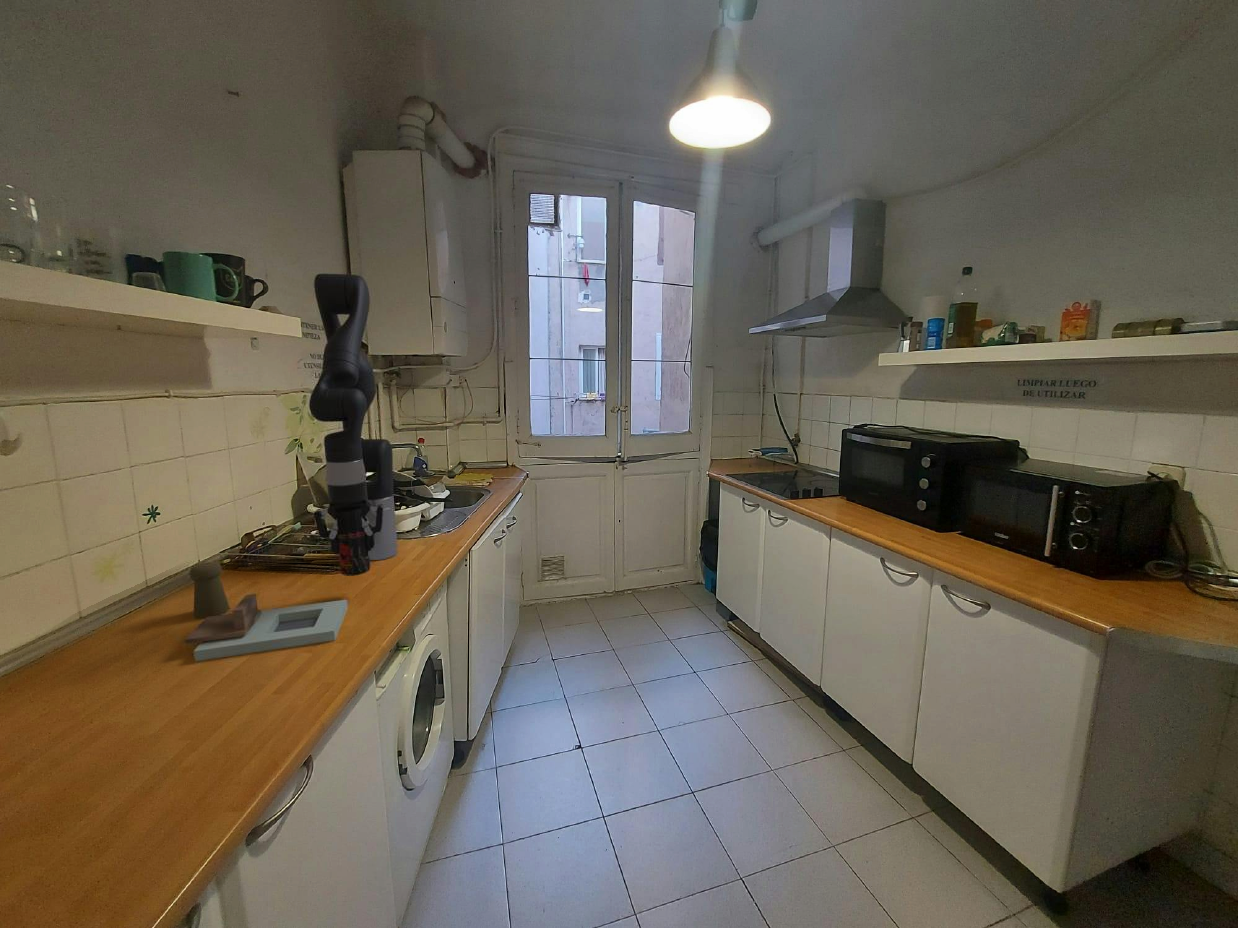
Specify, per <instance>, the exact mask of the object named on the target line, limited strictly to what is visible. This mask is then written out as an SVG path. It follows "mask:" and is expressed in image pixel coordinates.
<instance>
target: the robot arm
mask: <svg viewBox="0 0 1238 928" xmlns="http://www.w3.org/2000/svg"><path fill="white" fill-rule="evenodd" d="M313 282H314V283H313V287H314V295H315V300H316V305H317V307H318V311H319V315H320V318H321V322H322V323H321V324H322V327H323V330H324V334H325V338H326V341H327V342H326V344H325V346H324V350H323V358H322V370H321V374H320V376H319V378H318V380H317V383H316V384H315V386H314V388H313V390H312V392H311V395H310V397H309V402H308V406H309V411H310V413H311V415H312V417H313V418H314V419H315V420H317V421H319V422H323V423H325V422H326V423H328V422H329V423H331V422H332V423H333V422H336V423H337V422H342V430H340V431H335V432H331V433H328V434H326V435H325V436H324V439H323V445H324V446H323V447H324V454H325V455H324V456H325V480H326V486H327V495H328V507H327V508H323V509H321V508H317V509H316V510H315V511H313V519H314V522H315V525H316V527H317V531H318V535H319V537H320V538H328V539H329V540H330V549H331V552H332V553H334V555H335V556H336V555H339V549H338V540H337V530H338V526H337V519H336V517H335V510H344V509H357V508H363V516H364V518H365V516H366V522H365V520H364V519H363V518H362V517H361V518H362V527H363V528H364V531H365V532H366V534H367V536H366V539H367V550H368V551H369V559H370V561H380V560H386V559H389V558H392V557H394V556H396V555H397V554H398V538H397V537H398V535H397V526H396V525H397V524H396V510H395V509H396V508H395V499H394V472H393V471H394V470H393V468H394V467H393V466H394V465H393V463H394V461H393V460H394V459H393V448H392V444H391V442H390V441H389V440H388V439H385V438H362V434H363V433H362V432H363V424H364V420H365V416H366V414H367V413H368V410H369V409H370V407H371V406H372V404H373V402H374V399H375V398H376V393H377V387H376V380H375V376H374V375H375V374H374V370H373V367H372V364H371V363H370V361H369V360H368V358H367V357H366V356H365V355H364V354H363V353H362V351H361V347H362V341H363V338H364V334H365V331H366V325H367V321H368V316H369V311H370V303H371V301H370V299H371V298H370V291H369V288H368V284H367V282H366V280H365V278H364V276H360V275H357V274H345V273H318V274H316V275H315V276H314V280H313ZM338 315H348V317H347V319H346V320H345V321H344V323H343V324H341V322H340V319H339V316H338ZM367 473H371V474H372V473H376V474H377V475H376V478H375V479H373V480H372V481H370V482H367V479H366V474H367ZM327 515H329V516H330V517H331V518H332V519H334V520H336V521H334V524H333V526H332V528H331V530H329V529H328V527H327V523H326V518H327Z"/></svg>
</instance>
